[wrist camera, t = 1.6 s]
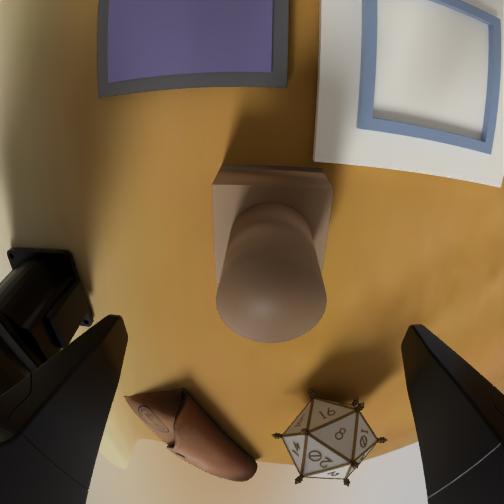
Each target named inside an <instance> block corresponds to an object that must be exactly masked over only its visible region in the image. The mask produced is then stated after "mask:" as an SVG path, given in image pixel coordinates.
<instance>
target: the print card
mask: <svg viewBox="0 0 504 504" xmlns="http://www.w3.org/2000/svg"><path fill="white" fill-rule="evenodd" d="M313 160H314V162H325V163H338V164H349V165H359V166H369V167H378V168H386V169H394V170H402V171H409V172H417V173H423V174H430V175H436V176H442V177H448V178H454V179H460V180H465V181H470V182H476V183H481V184H486V185H490V186H495V187H500V188H501V184H502V180H503V175H504V0H319V52H318V79H317V99H316V117H315V133H314V147H313Z"/></svg>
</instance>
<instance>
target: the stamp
mask: <svg viewBox="0 0 504 504" xmlns="http://www.w3.org/2000/svg"><path fill="white" fill-rule="evenodd" d="M332 198H333V188H332V186H331V184H330V182H329V181H328V179H327V177H326V176H325V174H324V172H323V170H322V169H319V168H304V167H285V166H261V165H222V166H221V168H220V170H219V172H218V174H217V176H216V178H215V180H214V182H213V184H212V199H213V225H214V247H215V267H216V284H219V286H218V291H217V296H216V305H217V310H218V313H219V315H220V317H221V319H222V320H223V322H224V323H225V324H226V325H227V326H228V327H229V328H230V329H231V330H232V331H234V332H235V333H237V334H238V335H240V336H242V337H244V338H247V339H250V340H253V341H258V342H265V343H277V342H284V341H289V340H292V339H295V338H297V337H300V336H302V335H304V334H305V333H307V332H308V331H310V330H311V329H312V328H313V327H314V326H315V325H316V324H317V323H318V322H319V321H320V319H321V318H322V316H323V314H324V311H325V308H326V302H327V299H326V292H325V287H324V283H323V279H322V275H321V274H322V268H323V262H324V255H325V249H326V242H327V235H328V228H329V221H330V213H331V206H332Z"/></svg>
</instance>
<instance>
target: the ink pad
mask: <svg viewBox="0 0 504 504" xmlns="http://www.w3.org/2000/svg"><path fill="white" fill-rule="evenodd" d="M288 18H289V0H99V5H98V30H97V70H98V95H99V98H103V97H109V96H116V95H123V94H130V93H138V92H147V91H157V90H168V89H181V88H199V87H277V88H287V62H288Z"/></svg>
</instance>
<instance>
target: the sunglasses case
mask: <svg viewBox="0 0 504 504" xmlns="http://www.w3.org/2000/svg"><path fill="white" fill-rule="evenodd" d="M124 397H125V399H126V401H127V402H128V404H129V406H130V407H131V408H132V409H133V411H134V412H135V413H136V415H137V416H138V417H139V418H140V419H141V420H142V421H143V422H144V423H145V424H146V425H147V426H148V427H149V428H150V429H151V430H152V431H153V432H154V433H155V434H156V435H157V436H158V437H159V438H160V439H161V440H163V441H164V442H165V443H166V444H167V445H169V446H167V449H169V450H170V451H172V452H173V453H174V454H175V455H176V456H178V457H179V458H181V459H182V460H184V461H186V462H188V463H190V464H192V465H194V466H196V467H197V468H199V469H201V470H203V471H205V472H207V473H210V474H212V475H215V476H217V477H220V478H224V479H228V480H232V481H240V482H243V481H247V480H249V479H250V478H252V477H253V475H254V474H255V473H256V470H257V463H256V461H255V460H254V459H252V458H251V457H250V456H248V455H247V454H246V453H244V452H243V451H242V450H241V449H239V448H238V447H237V446H236V445H235V444H234V443H233V442H232V441H231V440H230V439H229V438H228V437H227V436H226V435H225V434H224V433H223V432H222V431H221V430H220V429H219V428H218V427H217V426H216V425H215V424H214V423H213V422H212V421H211V420H210V418H209V417H208V416H207V415H206V414H205V413H204V412H203V411H202V410H201V408H200V407H199V406H198V405H197V404H196V403H195V402H194V400H193V399H192V398H191V397H190V396H188V395H187V394H186V393H185V391H184V390H183V388H182V389H181V390H180V389H179V390H171V391H163V392H155V393H147V394H138V395H133V396H124Z"/></svg>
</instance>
